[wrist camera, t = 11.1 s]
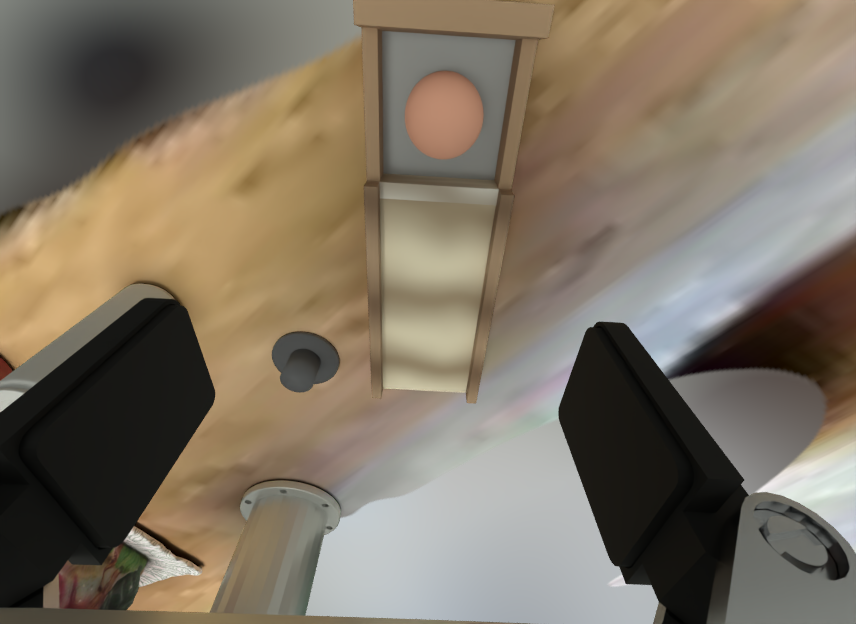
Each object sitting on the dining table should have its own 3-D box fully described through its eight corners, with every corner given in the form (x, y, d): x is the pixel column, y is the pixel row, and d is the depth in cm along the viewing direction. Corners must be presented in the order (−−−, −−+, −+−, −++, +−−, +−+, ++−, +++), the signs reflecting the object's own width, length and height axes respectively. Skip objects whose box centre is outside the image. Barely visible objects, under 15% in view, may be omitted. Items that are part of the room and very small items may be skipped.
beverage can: (137, 268, 30) (-12, 374, 20) (195, 304, 32) (86, 417, 22) (116, 305, 32) (-28, 418, 22) (172, 336, 34) (62, 454, 24)
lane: (472, 374, 36) (476, 403, 33) (377, 369, 35) (372, 398, 32) (505, 179, 25) (514, 195, 22) (372, 171, 25) (363, 186, 22)
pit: (505, 179, 25) (517, 200, 22) (372, 171, 25) (361, 190, 22) (533, 14, 20) (554, 4, 17) (367, 2, 20) (352, -10, 17)
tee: (341, 382, 36) (334, 406, 34) (279, 379, 36) (267, 403, 34) (336, 333, 33) (328, 356, 31) (267, 329, 33) (254, 352, 30)
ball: (484, 72, 22) (494, 73, 18) (474, 154, 24) (481, 169, 20) (408, 67, 22) (402, 67, 18) (406, 149, 24) (400, 164, 20)
